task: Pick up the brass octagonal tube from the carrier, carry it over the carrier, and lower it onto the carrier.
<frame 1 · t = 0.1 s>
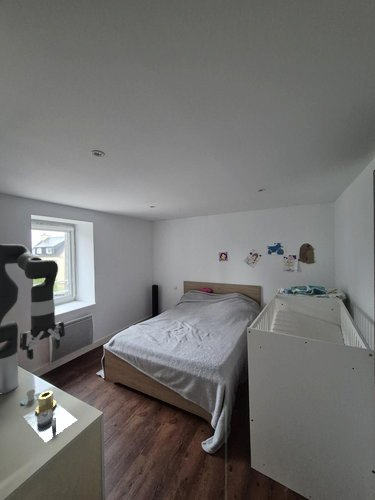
hand: (44, 353, 77), 29 cm above the dresser top, fingers open, 8 cm apart
pacifier: (31, 402, 92), on the dresser top
carrier: (49, 421, 81), on the dresser top
brass octagonal tube: (46, 408, 86), point 1 cm above the dresser top, touching carrier
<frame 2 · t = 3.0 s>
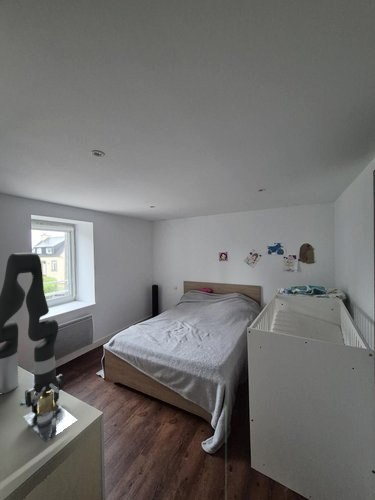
hand: (46, 406, 86), 2 cm above the dresser top, fingers closed on brass octagonal tube, 7 cm apart
brass octagonal tube: (46, 408, 86), point 1 cm above the dresser top, touching carrier, gripper
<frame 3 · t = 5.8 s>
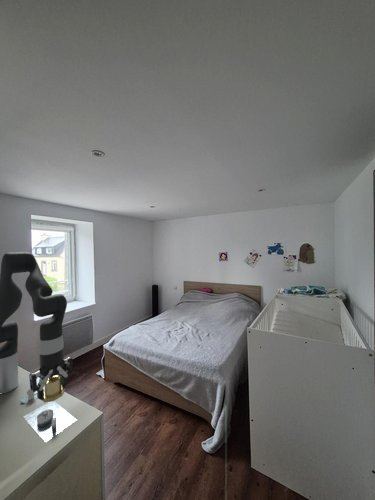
hand: (53, 392, 75), 15 cm above the dresser top, fingers closed on brass octagonal tube, 7 cm apart
brass octagonal tube: (53, 395, 75), point 14 cm above the dresser top, touching gripper
when the fingers open (3 cm above the dresser top, at t = 8.9 s): brass octagonal tube drops 1 cm, resting on carrier.
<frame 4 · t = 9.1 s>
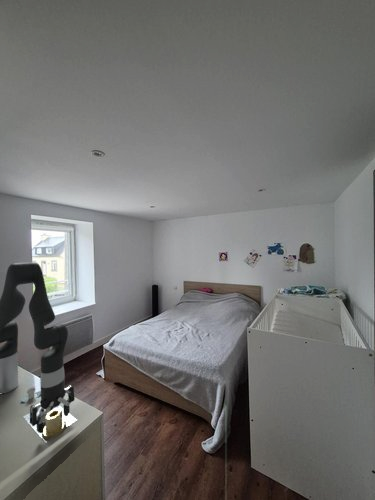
hand: (54, 423, 75), 4 cm above the dresser top, fingers open, 8 cm apart
brass octagonal tube: (54, 429, 75), point 1 cm above the dresser top, touching carrier
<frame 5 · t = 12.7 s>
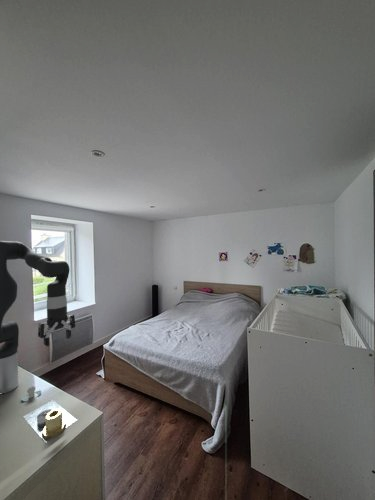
hand: (58, 341, 90), 28 cm above the dresser top, fingers open, 8 cm apart
at the end: brass octagonal tube 0.0 cm from the target spot, point 1.2 cm above the dresser top; brass octagonal tube tilted 0°; the gripper is holding nothing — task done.
